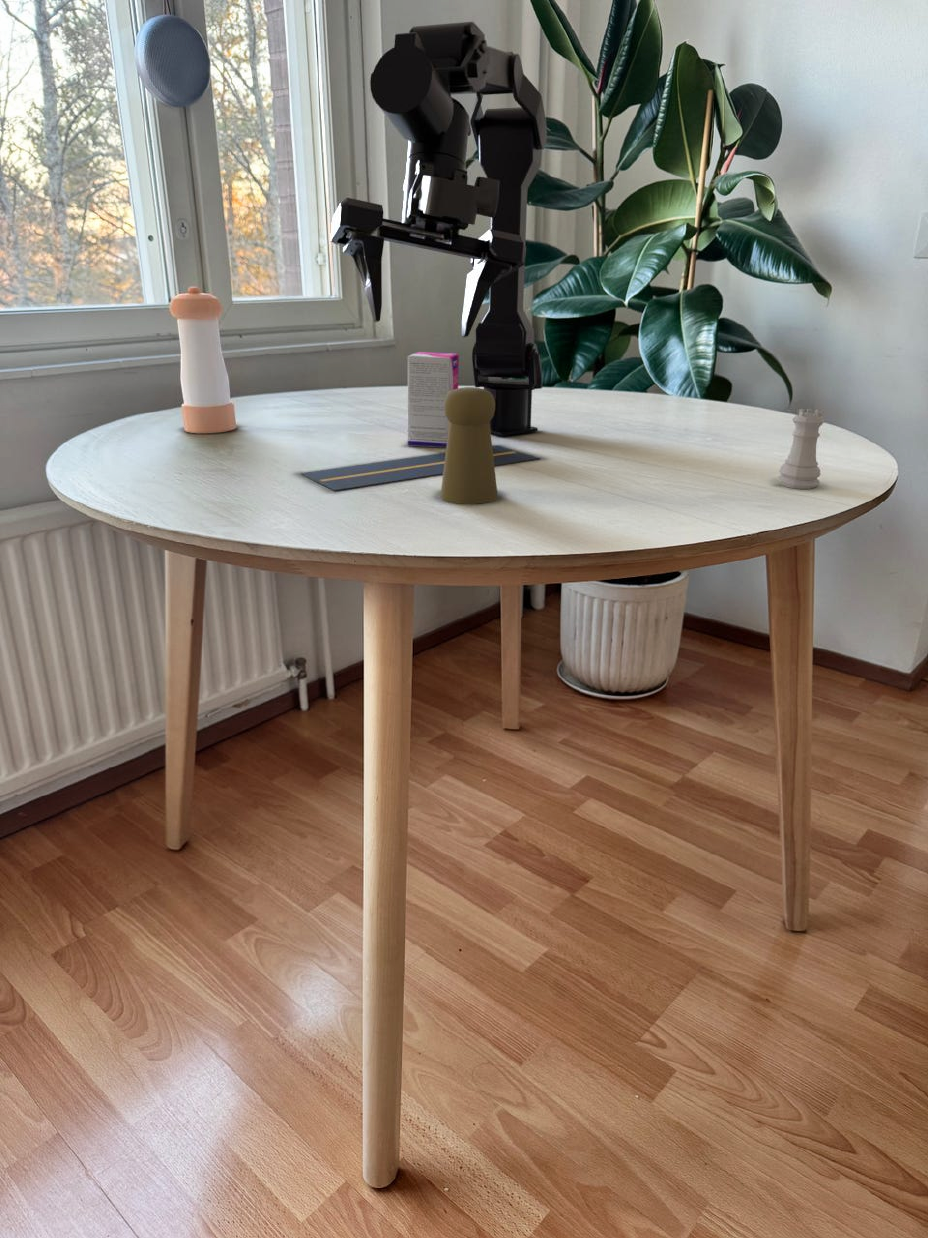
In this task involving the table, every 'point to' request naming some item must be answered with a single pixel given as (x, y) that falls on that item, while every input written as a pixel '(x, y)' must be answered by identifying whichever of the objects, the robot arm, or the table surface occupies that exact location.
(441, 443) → the supplement box
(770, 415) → the table surface
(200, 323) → the salt shaker
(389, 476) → the line mat
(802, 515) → the table surface
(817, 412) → the rook chess piece
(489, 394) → the cork
